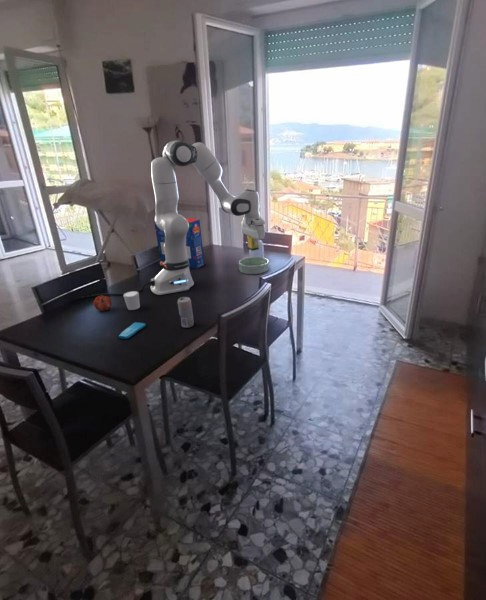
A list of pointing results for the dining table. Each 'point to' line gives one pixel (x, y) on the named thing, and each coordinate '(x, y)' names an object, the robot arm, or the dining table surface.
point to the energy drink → (185, 312)
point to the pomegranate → (102, 303)
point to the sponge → (131, 330)
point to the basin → (253, 265)
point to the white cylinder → (132, 300)
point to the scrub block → (252, 244)
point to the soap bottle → (258, 252)
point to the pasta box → (192, 243)
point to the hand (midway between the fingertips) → (252, 243)
